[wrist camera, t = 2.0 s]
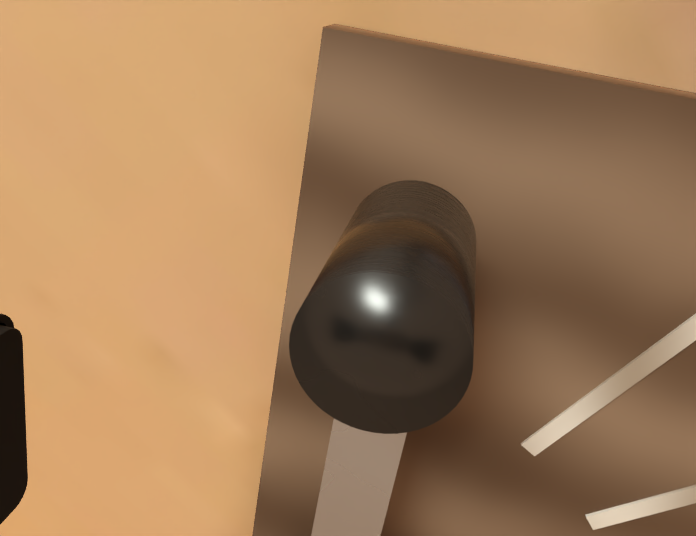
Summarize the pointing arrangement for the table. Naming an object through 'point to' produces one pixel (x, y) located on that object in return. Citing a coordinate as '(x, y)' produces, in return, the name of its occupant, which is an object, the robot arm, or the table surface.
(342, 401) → the lever
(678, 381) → the cracker board
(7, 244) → the table surface
